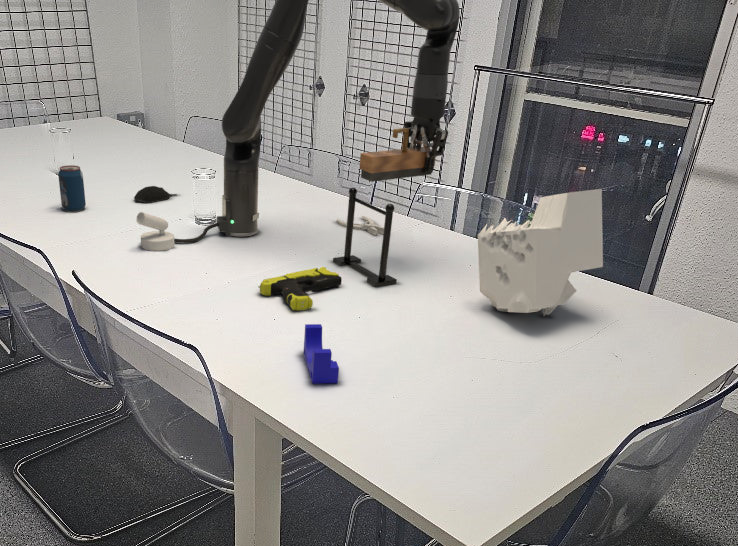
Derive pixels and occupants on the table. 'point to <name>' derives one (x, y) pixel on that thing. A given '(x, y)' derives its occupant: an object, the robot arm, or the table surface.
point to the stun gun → (300, 286)
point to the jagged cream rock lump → (541, 253)
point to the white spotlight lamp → (155, 233)
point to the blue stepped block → (318, 357)
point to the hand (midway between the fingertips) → (420, 170)
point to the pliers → (366, 226)
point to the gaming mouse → (152, 194)
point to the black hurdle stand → (354, 260)
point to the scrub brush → (393, 161)
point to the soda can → (71, 188)
